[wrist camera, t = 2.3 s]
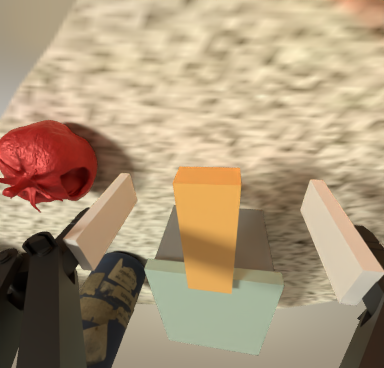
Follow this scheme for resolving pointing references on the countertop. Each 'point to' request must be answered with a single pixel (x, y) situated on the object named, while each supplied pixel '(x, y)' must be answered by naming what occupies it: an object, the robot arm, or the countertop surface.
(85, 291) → the canister
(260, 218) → the tub
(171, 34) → the countertop surface
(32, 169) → the pomegranate
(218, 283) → the lid
